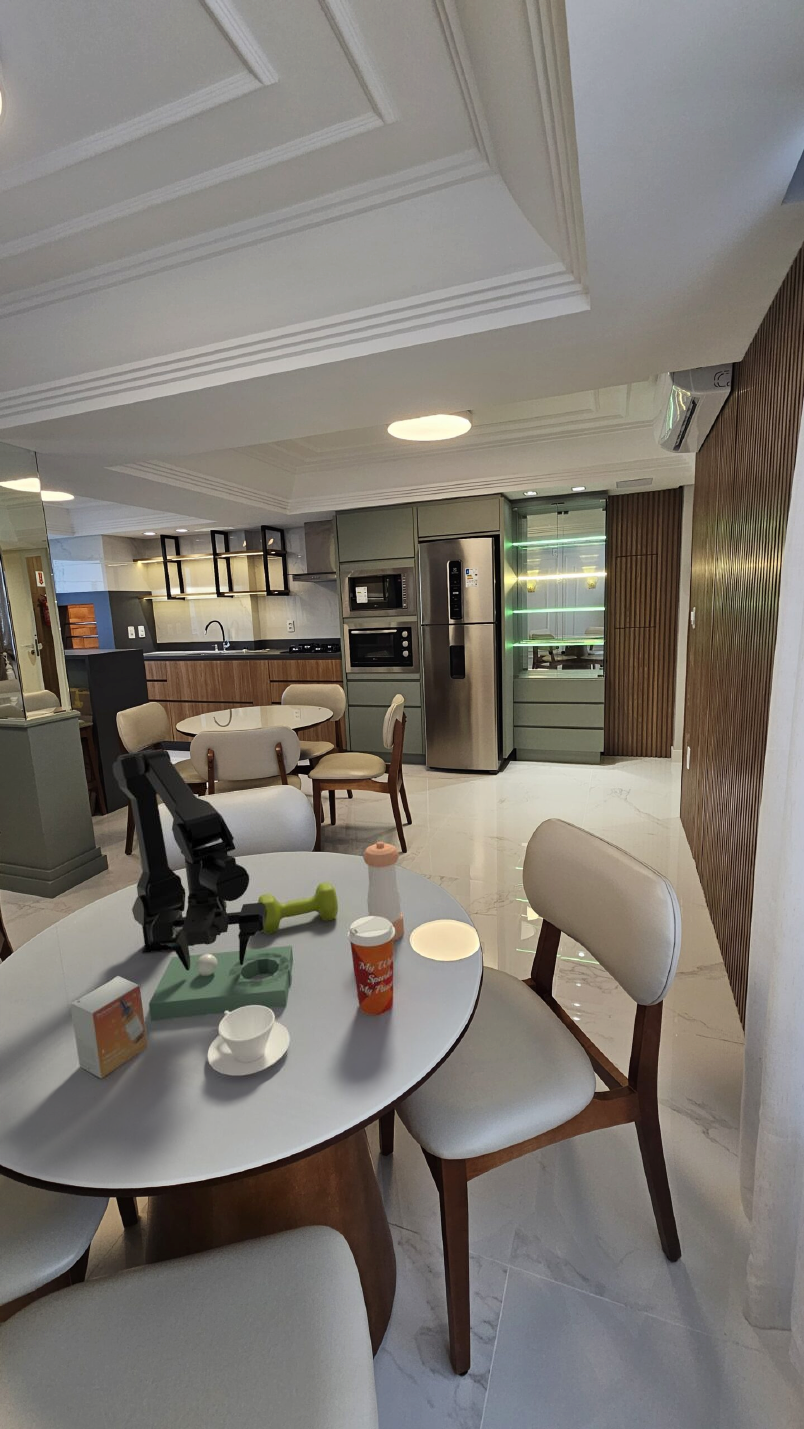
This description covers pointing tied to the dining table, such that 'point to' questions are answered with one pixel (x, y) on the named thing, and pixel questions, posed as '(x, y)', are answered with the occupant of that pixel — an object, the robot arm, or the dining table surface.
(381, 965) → the paper cup
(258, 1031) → the teacup
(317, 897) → the dumbbell
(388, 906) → the salt shaker
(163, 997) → the green slab with hollow
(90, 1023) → the small box
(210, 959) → the ball
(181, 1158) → the dining table surface
